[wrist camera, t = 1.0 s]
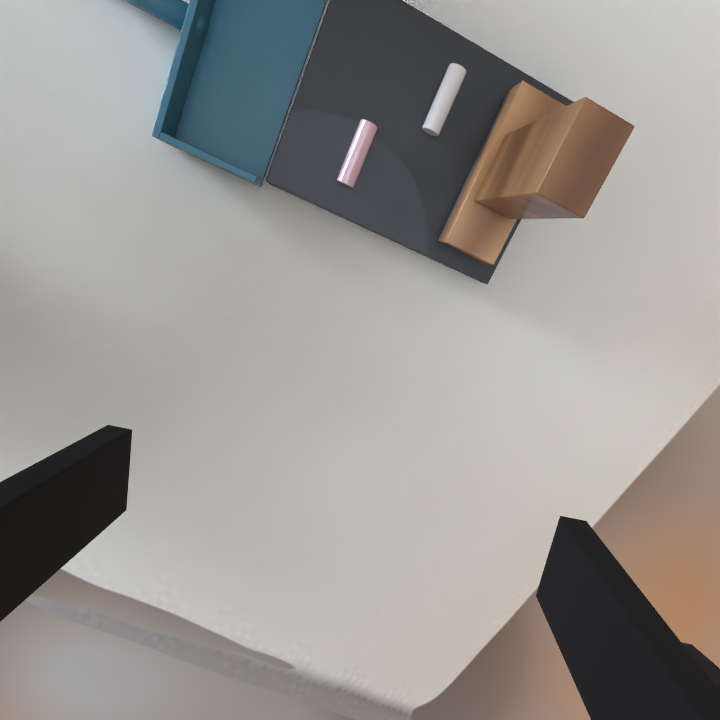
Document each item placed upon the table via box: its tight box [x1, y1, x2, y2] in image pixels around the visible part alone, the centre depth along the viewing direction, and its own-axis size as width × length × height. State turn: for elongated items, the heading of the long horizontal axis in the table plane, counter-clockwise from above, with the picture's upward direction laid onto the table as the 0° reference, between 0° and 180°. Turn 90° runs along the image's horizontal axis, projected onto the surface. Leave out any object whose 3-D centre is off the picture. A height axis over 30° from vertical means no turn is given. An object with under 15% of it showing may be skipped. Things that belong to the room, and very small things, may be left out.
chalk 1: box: [337, 119, 378, 188], centre depth 33 cm, size 1×5×1 cm, turn 156°
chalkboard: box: [266, 0, 574, 284], centre depth 34 cm, size 20×15×2 cm
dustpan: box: [124, 0, 327, 187], centre depth 30 cm, size 15×16×3 cm
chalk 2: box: [422, 63, 466, 136], centre depth 32 cm, size 1×5×1 cm, turn 156°
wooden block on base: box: [438, 81, 634, 265], centre depth 29 cm, size 4×12×12 cm, turn 156°
